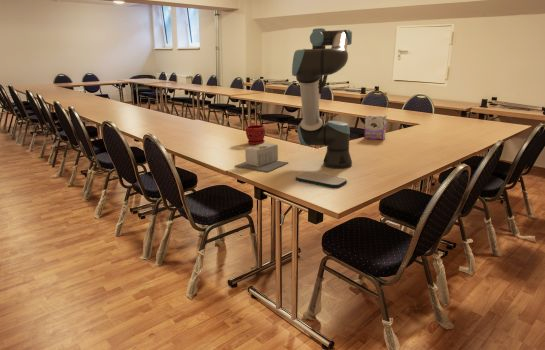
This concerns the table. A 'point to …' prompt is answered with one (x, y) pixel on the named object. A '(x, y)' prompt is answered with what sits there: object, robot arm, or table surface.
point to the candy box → (375, 127)
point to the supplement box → (261, 154)
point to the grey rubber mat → (263, 166)
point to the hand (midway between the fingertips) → (318, 99)
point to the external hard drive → (321, 180)
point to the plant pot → (255, 134)
